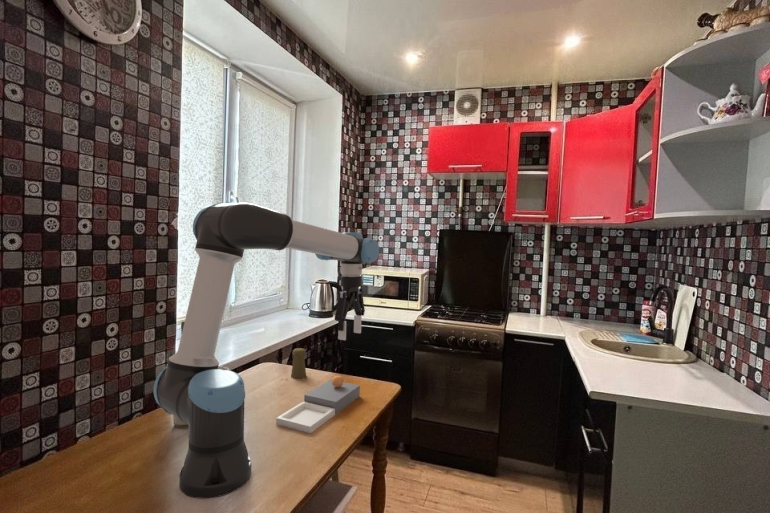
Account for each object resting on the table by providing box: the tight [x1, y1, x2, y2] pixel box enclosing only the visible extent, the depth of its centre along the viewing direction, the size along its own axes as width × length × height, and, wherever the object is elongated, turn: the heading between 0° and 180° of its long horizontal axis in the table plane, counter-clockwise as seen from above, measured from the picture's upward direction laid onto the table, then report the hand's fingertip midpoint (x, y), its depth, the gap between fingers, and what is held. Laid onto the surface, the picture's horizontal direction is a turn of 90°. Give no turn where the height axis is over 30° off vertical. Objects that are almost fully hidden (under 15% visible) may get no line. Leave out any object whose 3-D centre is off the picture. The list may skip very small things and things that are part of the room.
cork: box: [290, 347, 307, 380], centre depth 160 cm, size 6×6×11 cm
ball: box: [331, 374, 344, 387], centre depth 139 cm, size 4×4×4 cm
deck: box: [303, 379, 361, 415], centre depth 136 cm, size 16×12×4 cm
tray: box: [275, 400, 336, 434], centre depth 122 cm, size 14×12×2 cm
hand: (349, 336), depth 145 cm, fingers open, 11 cm apart
